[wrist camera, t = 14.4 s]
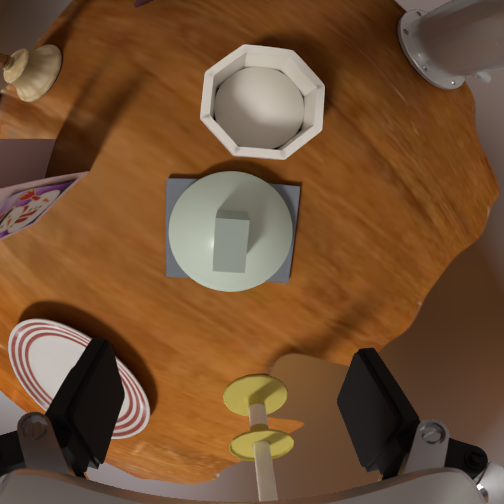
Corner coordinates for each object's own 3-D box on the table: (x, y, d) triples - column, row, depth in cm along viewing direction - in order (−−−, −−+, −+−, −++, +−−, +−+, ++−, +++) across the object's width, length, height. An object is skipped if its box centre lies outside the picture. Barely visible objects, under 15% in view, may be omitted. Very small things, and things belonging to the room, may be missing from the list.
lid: (297, 177, 29) (310, 181, 24) (282, 290, 33) (290, 312, 28) (172, 168, 27) (161, 169, 23) (170, 283, 31) (161, 304, 27)
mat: (298, 186, 29) (300, 186, 29) (287, 280, 33) (288, 282, 32) (168, 178, 28) (166, 178, 28) (167, 274, 32) (166, 276, 31)
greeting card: (37, 229, 28) (-40, 272, 14) (15, 185, 26) (-66, 209, 12) (93, 177, 27) (5, 198, 13) (67, 128, 25) (-23, 122, 11)
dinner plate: (92, 289, 32) (82, 301, 29) (181, 422, 41) (179, 436, 38) (-4, 325, 33) (-13, 335, 30) (74, 428, 42) (70, 438, 38)
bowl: (311, 70, 25) (326, 56, 21) (304, 163, 29) (318, 164, 24) (212, 60, 24) (209, 42, 20) (202, 154, 28) (197, 153, 23)
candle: (291, 408, 41) (326, 554, 15) (232, 419, 41) (240, 566, 15) (282, 367, 37) (326, 548, 12) (214, 381, 37) (213, 560, 12)
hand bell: (10, 86, 21) (-69, 75, 6) (44, 37, 20) (-28, 4, 5) (35, 112, 24) (-56, 105, 8) (72, 58, 22) (-9, 19, 7)
